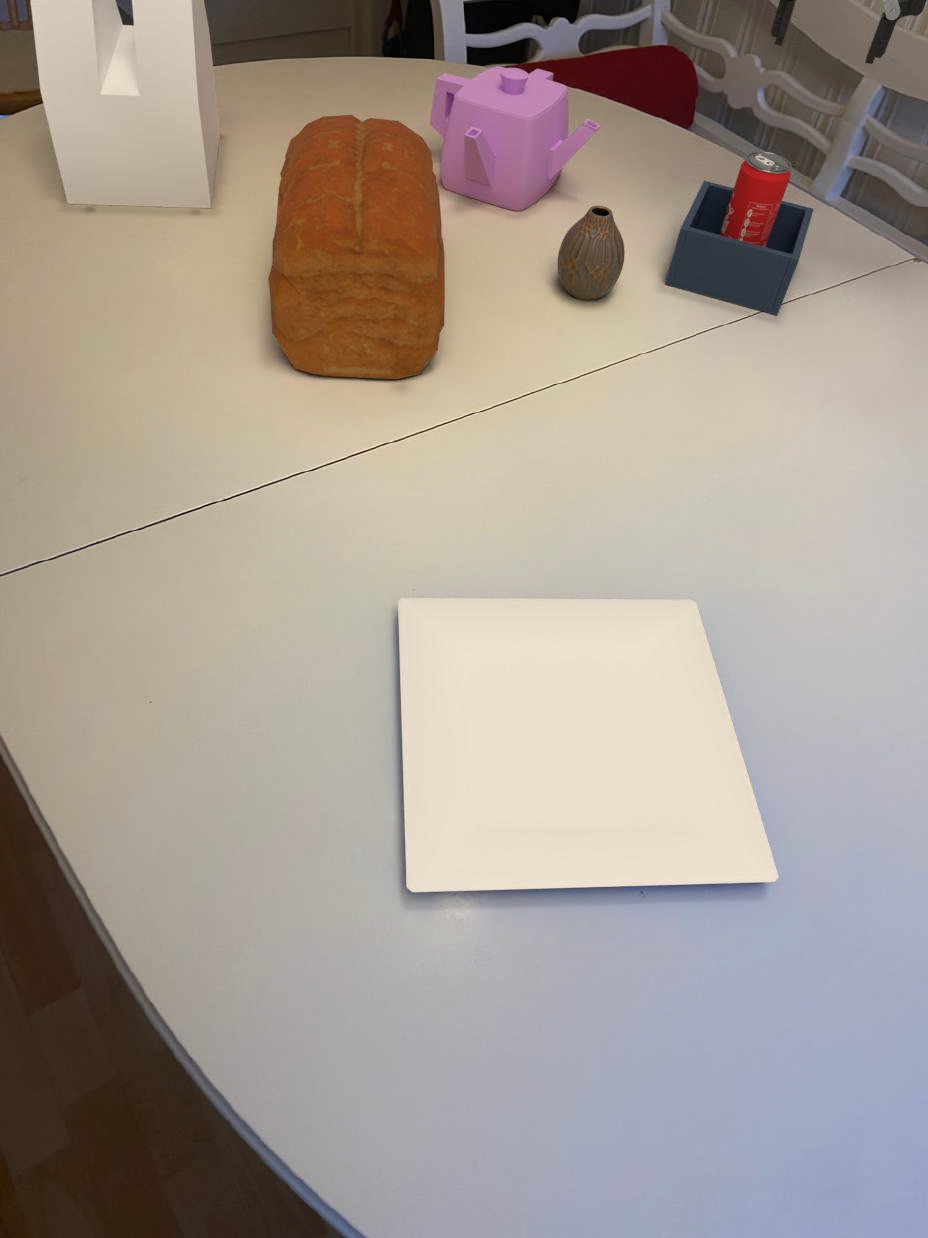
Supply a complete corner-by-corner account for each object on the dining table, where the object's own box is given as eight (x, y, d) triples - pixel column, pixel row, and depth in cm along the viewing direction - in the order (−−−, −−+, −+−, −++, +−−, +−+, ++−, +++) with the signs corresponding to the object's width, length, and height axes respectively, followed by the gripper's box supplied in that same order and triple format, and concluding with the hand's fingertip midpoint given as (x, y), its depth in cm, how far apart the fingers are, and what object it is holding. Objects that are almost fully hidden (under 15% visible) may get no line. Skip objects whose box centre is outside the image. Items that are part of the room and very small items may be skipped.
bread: (434, 239, 104) (444, 88, 92) (444, 384, 87) (458, 221, 75) (288, 231, 102) (279, 76, 90) (269, 377, 85) (255, 209, 73)
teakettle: (537, 145, 122) (552, 40, 113) (591, 207, 113) (613, 98, 103) (415, 153, 118) (420, 45, 108) (460, 219, 108) (470, 106, 98)
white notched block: (92, 127, 114) (39, -127, 95) (220, 133, 116) (193, -115, 97) (67, 203, 102) (1, -71, 83) (211, 208, 104) (178, -58, 85)
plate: (396, 613, 69) (398, 595, 67) (688, 615, 71) (696, 597, 70) (405, 905, 54) (406, 890, 53) (770, 894, 57) (781, 880, 55)
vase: (546, 298, 98) (559, 217, 92) (560, 267, 103) (575, 188, 96) (609, 313, 98) (627, 234, 91) (621, 281, 102) (640, 203, 95)
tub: (792, 262, 108) (814, 208, 103) (777, 315, 100) (798, 259, 95) (688, 234, 110) (704, 180, 105) (664, 284, 102) (680, 227, 97)
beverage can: (733, 285, 103) (770, 176, 93) (700, 263, 105) (733, 155, 96) (765, 274, 105) (804, 167, 96) (731, 252, 107) (767, 146, 98)
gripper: (986, -162, 77) (901, 54, 89) (815, -190, 79) (755, 24, 92) (986, -145, 72) (897, 81, 85) (804, -176, 75) (743, 48, 87)
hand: (823, 51), depth 88 cm, fingers open, 8 cm apart
